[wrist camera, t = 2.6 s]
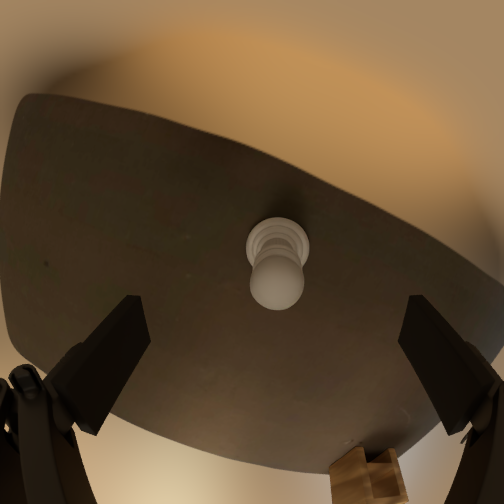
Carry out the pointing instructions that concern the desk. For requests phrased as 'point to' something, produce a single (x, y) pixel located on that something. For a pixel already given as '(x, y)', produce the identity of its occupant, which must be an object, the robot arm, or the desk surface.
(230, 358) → the desk surface
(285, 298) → the chess piece
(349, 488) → the shelf
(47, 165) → the desk surface
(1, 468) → the robot arm
